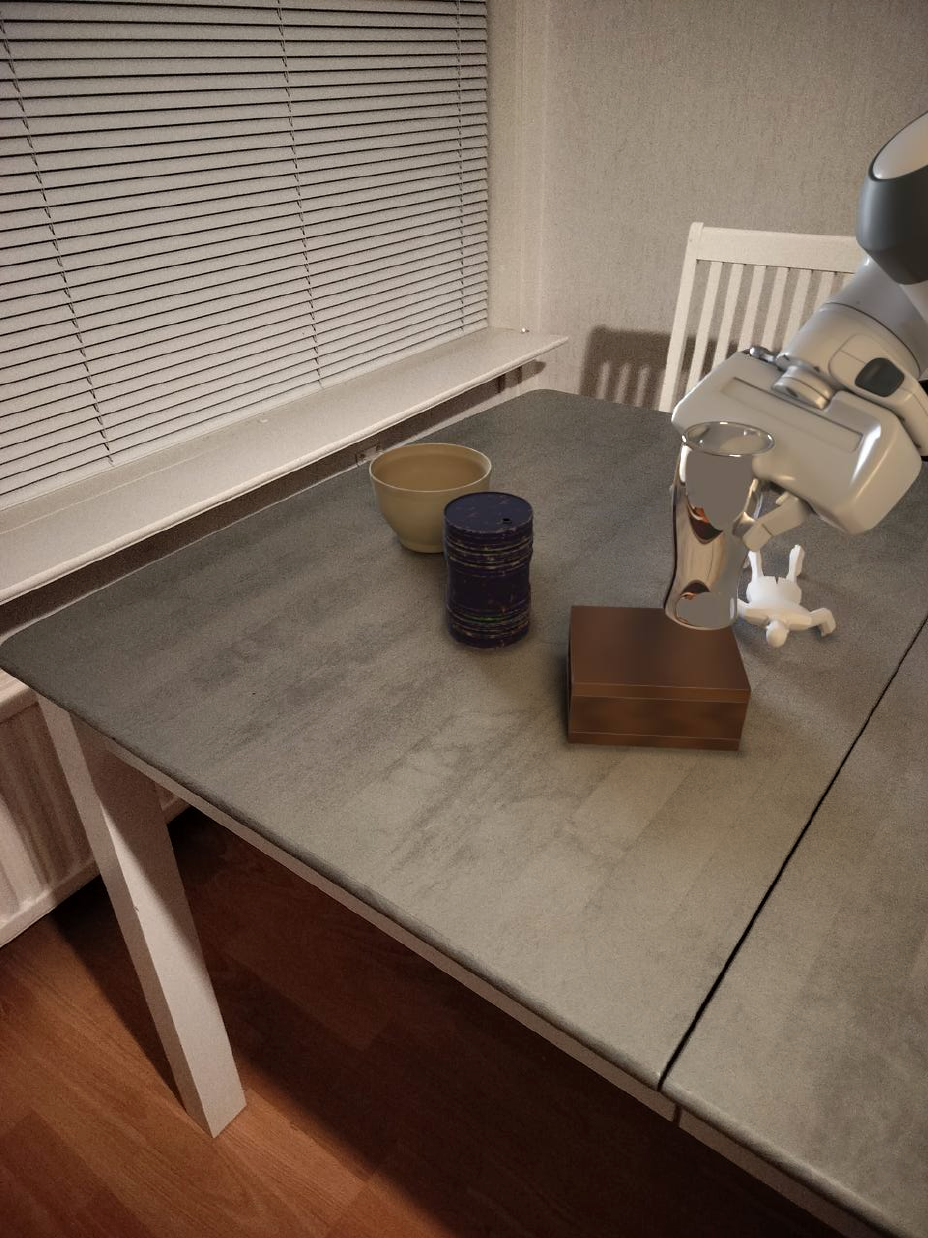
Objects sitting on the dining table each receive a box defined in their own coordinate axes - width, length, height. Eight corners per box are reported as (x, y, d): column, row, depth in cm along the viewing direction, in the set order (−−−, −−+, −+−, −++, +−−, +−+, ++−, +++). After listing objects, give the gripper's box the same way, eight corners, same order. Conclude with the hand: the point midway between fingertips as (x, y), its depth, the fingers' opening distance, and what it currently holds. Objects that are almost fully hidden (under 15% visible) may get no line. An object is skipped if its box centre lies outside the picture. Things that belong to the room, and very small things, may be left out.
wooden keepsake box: (715, 668, 89) (726, 610, 85) (737, 751, 78) (751, 690, 74) (566, 662, 90) (570, 605, 86) (568, 743, 80) (572, 682, 75)
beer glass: (643, 617, 67) (664, 443, 59) (675, 579, 72) (699, 413, 63) (726, 644, 64) (762, 463, 55) (754, 602, 69) (791, 430, 60)
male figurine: (712, 577, 108) (701, 663, 86) (720, 533, 105) (710, 610, 84) (823, 593, 104) (840, 687, 83) (834, 547, 102) (854, 632, 80)
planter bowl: (493, 565, 108) (494, 489, 102) (370, 568, 108) (363, 492, 102) (489, 510, 121) (489, 440, 115) (380, 512, 121) (374, 442, 115)
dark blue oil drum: (429, 623, 97) (423, 509, 89) (491, 593, 102) (491, 482, 94) (485, 661, 91) (484, 542, 82) (548, 627, 96) (553, 512, 87)
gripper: (729, 316, 67) (614, 450, 69) (938, 392, 51) (780, 562, 53) (763, 364, 70) (654, 489, 73) (968, 448, 55) (819, 604, 57)
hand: (708, 521), depth 63 cm, fingers closed on beer glass, 7 cm apart
